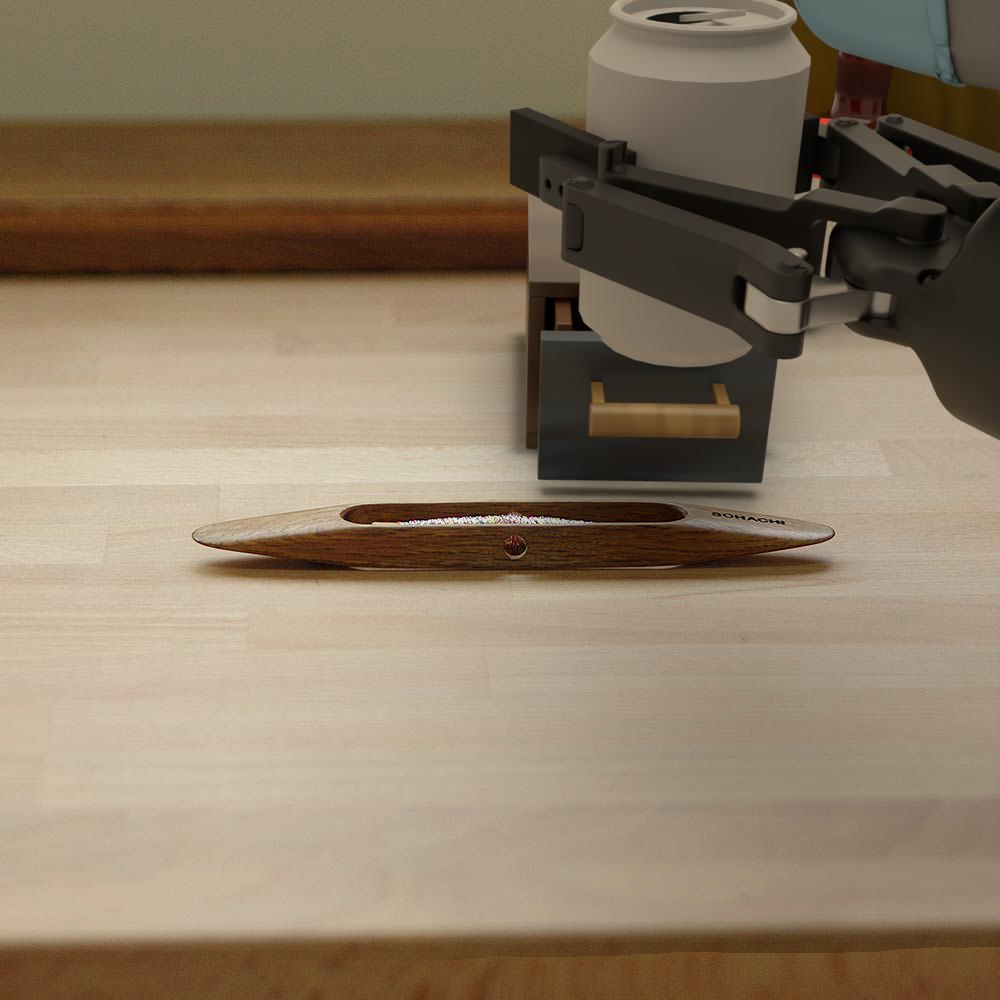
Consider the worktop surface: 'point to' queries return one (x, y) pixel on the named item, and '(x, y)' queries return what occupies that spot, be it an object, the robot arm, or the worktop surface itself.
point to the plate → (908, 95)
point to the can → (693, 137)
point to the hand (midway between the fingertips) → (609, 129)
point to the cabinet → (542, 297)
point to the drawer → (646, 412)
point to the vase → (860, 90)
